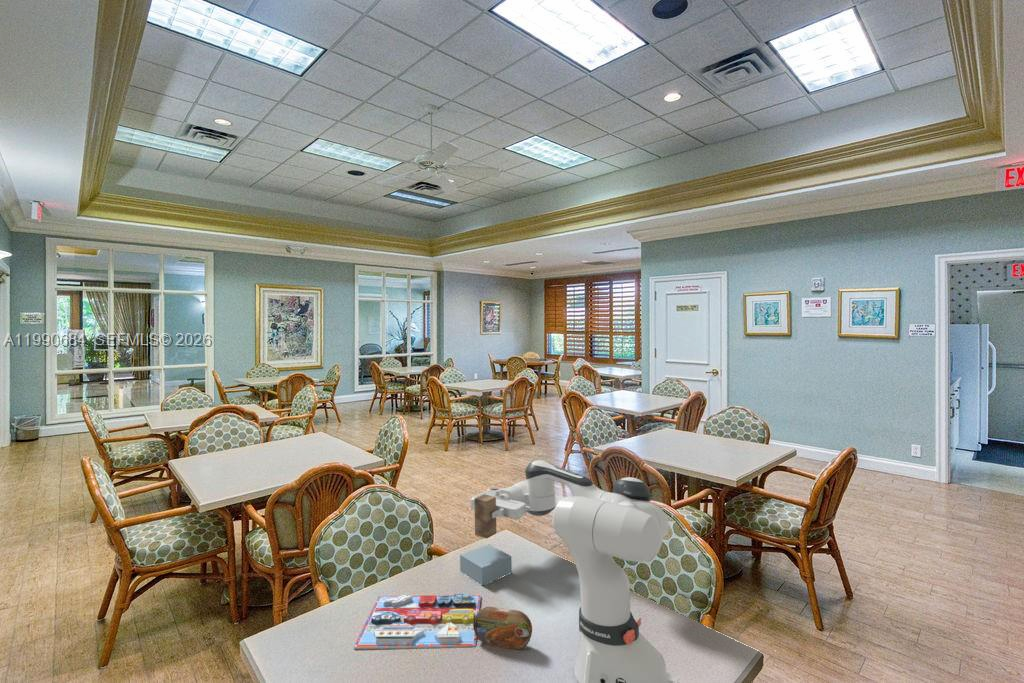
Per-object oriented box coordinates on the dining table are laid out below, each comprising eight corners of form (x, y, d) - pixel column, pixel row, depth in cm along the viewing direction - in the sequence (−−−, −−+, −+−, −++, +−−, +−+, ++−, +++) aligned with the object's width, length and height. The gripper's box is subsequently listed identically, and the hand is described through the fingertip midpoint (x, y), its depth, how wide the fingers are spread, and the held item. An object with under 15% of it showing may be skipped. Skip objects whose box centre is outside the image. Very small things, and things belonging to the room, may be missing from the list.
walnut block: (496, 533, 156) (495, 496, 156) (487, 538, 152) (486, 501, 152) (484, 529, 159) (484, 494, 159) (475, 535, 155) (474, 498, 155)
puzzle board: (353, 652, 117) (353, 641, 117) (378, 601, 140) (378, 592, 140) (476, 649, 118) (476, 638, 118) (481, 599, 140) (480, 590, 140)
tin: (472, 642, 120) (472, 608, 120) (477, 634, 123) (477, 602, 123) (530, 652, 115) (530, 618, 115) (533, 644, 118) (533, 611, 118)
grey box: (511, 574, 154) (511, 556, 154) (482, 587, 147) (481, 567, 147) (489, 561, 164) (489, 544, 164) (460, 573, 156) (460, 554, 156)
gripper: (533, 516, 160) (509, 530, 148) (485, 504, 172) (460, 516, 160) (533, 497, 160) (509, 510, 148) (485, 487, 172) (460, 498, 160)
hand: (483, 513), depth 154 cm, fingers closed on walnut block, 5 cm apart
